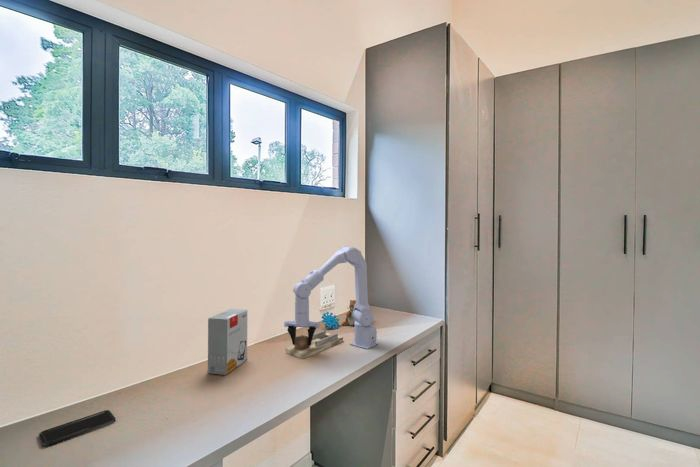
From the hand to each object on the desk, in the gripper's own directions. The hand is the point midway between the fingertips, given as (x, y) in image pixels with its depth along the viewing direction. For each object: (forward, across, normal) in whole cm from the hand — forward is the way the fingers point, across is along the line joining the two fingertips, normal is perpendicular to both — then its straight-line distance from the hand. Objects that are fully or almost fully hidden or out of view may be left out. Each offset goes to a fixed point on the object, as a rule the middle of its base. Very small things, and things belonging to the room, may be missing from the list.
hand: (302, 344), depth 145 cm
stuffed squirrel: (+4, -17, -44) cm, 47 cm away
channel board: (+3, -4, -7) cm, 9 cm away
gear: (+4, -5, -36) cm, 36 cm away
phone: (+4, +43, +60) cm, 74 cm away
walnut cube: (+1, 0, 0) cm, 1 cm away
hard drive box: (+4, +23, +17) cm, 29 cm away
